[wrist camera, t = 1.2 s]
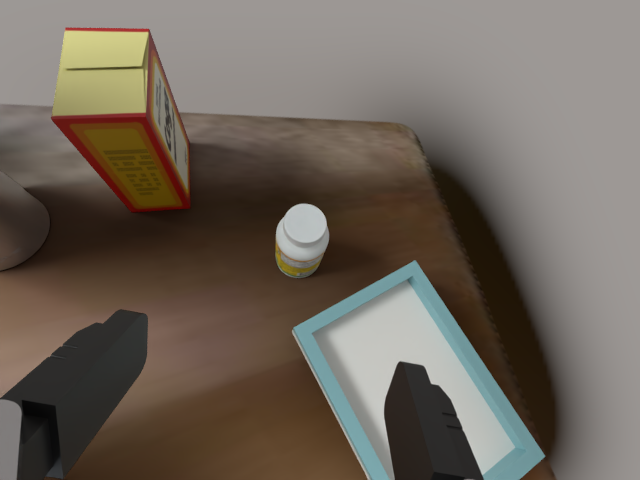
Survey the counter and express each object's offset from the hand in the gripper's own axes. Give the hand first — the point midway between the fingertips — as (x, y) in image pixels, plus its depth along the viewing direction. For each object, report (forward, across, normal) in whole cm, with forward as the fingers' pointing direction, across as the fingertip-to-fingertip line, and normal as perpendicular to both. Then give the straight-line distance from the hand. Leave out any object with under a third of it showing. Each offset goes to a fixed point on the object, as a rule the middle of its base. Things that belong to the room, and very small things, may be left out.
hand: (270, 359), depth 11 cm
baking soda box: (+33, +18, +4) cm, 38 cm away
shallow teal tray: (+20, -12, +18) cm, 29 cm away
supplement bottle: (+28, 0, +9) cm, 30 cm away
